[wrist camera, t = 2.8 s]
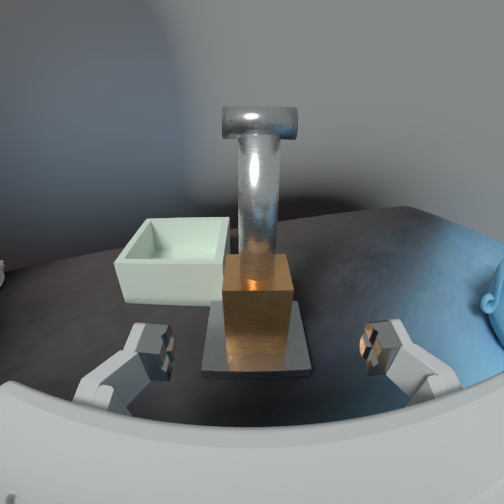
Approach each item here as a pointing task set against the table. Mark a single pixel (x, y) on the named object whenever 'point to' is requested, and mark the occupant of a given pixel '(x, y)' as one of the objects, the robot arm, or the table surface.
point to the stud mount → (254, 364)
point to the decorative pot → (495, 303)
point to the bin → (175, 261)
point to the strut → (257, 233)
